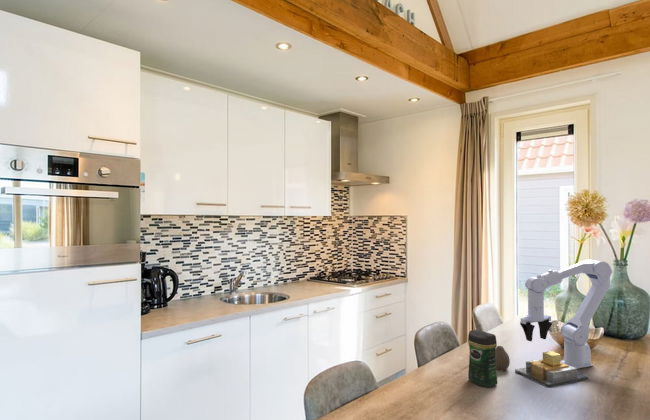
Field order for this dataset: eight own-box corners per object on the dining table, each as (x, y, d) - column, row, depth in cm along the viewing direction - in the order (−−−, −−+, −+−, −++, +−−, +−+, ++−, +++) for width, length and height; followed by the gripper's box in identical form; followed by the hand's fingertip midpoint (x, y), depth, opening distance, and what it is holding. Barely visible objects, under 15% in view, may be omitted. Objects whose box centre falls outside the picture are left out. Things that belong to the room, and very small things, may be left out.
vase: (511, 372, 155) (511, 350, 155) (492, 371, 156) (492, 349, 156) (507, 366, 162) (507, 344, 162) (489, 365, 163) (489, 343, 163)
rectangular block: (550, 370, 155) (550, 350, 155) (560, 374, 151) (560, 354, 151) (542, 372, 153) (542, 352, 153) (553, 376, 149) (552, 355, 149)
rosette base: (552, 365, 163) (552, 353, 163) (588, 379, 149) (588, 366, 149) (515, 371, 156) (514, 360, 156) (548, 387, 142) (548, 374, 142)
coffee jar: (501, 385, 144) (500, 333, 144) (486, 389, 140) (486, 336, 140) (478, 375, 152) (478, 326, 152) (464, 380, 148) (464, 329, 148)
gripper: (540, 303, 171) (541, 335, 171) (514, 305, 166) (514, 338, 166) (555, 306, 164) (555, 339, 164) (528, 309, 159) (528, 343, 159)
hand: (536, 339), depth 164 cm, fingers open, 7 cm apart
